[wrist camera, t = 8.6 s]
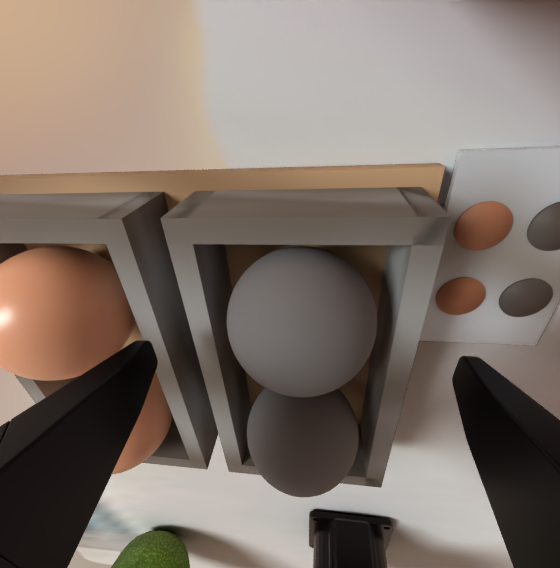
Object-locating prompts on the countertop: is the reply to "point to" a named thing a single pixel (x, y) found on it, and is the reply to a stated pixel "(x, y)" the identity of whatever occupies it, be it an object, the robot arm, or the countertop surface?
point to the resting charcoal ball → (302, 441)
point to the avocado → (154, 552)
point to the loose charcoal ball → (302, 321)
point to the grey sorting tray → (314, 233)
